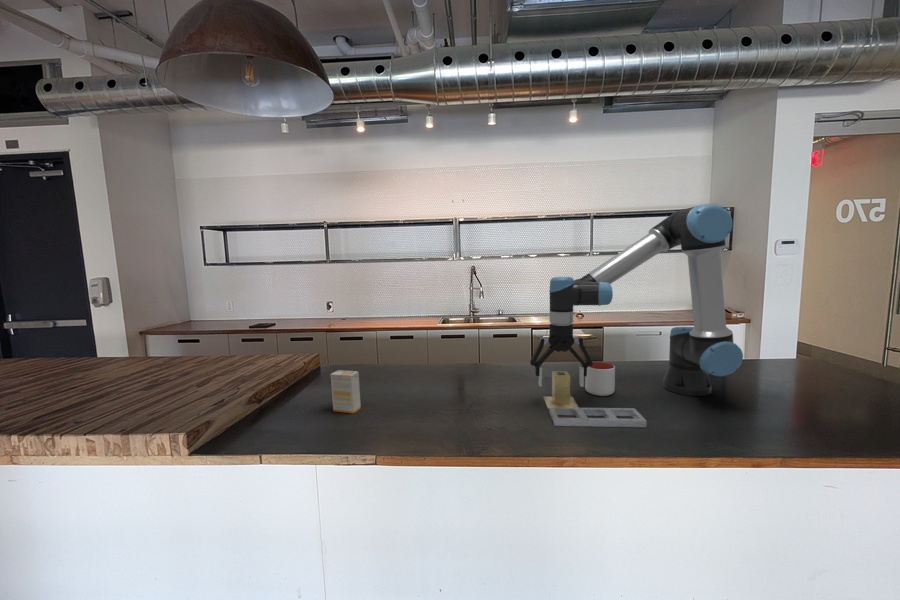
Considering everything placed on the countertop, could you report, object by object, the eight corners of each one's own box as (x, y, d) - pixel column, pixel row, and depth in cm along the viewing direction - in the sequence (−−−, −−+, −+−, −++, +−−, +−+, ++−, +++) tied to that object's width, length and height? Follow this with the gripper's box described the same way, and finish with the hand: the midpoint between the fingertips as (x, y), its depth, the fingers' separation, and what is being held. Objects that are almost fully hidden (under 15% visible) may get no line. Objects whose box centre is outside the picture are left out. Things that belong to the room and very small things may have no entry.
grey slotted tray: (634, 414, 119) (634, 408, 118) (646, 427, 110) (646, 420, 109) (549, 413, 121) (549, 407, 121) (554, 425, 112) (554, 419, 112)
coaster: (572, 397, 133) (572, 396, 133) (579, 409, 124) (579, 408, 123) (543, 397, 134) (543, 396, 134) (547, 408, 125) (547, 407, 124)
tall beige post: (566, 399, 131) (566, 370, 130) (569, 404, 126) (570, 375, 125) (551, 399, 132) (552, 370, 130) (554, 404, 127) (554, 375, 125)
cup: (617, 397, 132) (617, 370, 131) (587, 396, 134) (587, 369, 133) (611, 388, 142) (611, 362, 141) (583, 386, 144) (583, 361, 143)
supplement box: (361, 408, 129) (359, 371, 127) (353, 414, 124) (351, 375, 123) (340, 405, 132) (338, 369, 130) (332, 411, 127) (329, 373, 126)
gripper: (596, 321, 128) (595, 381, 131) (522, 321, 131) (522, 381, 133) (603, 325, 121) (602, 389, 123) (524, 326, 123) (524, 388, 126)
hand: (560, 385), depth 128 cm, fingers open, 13 cm apart
